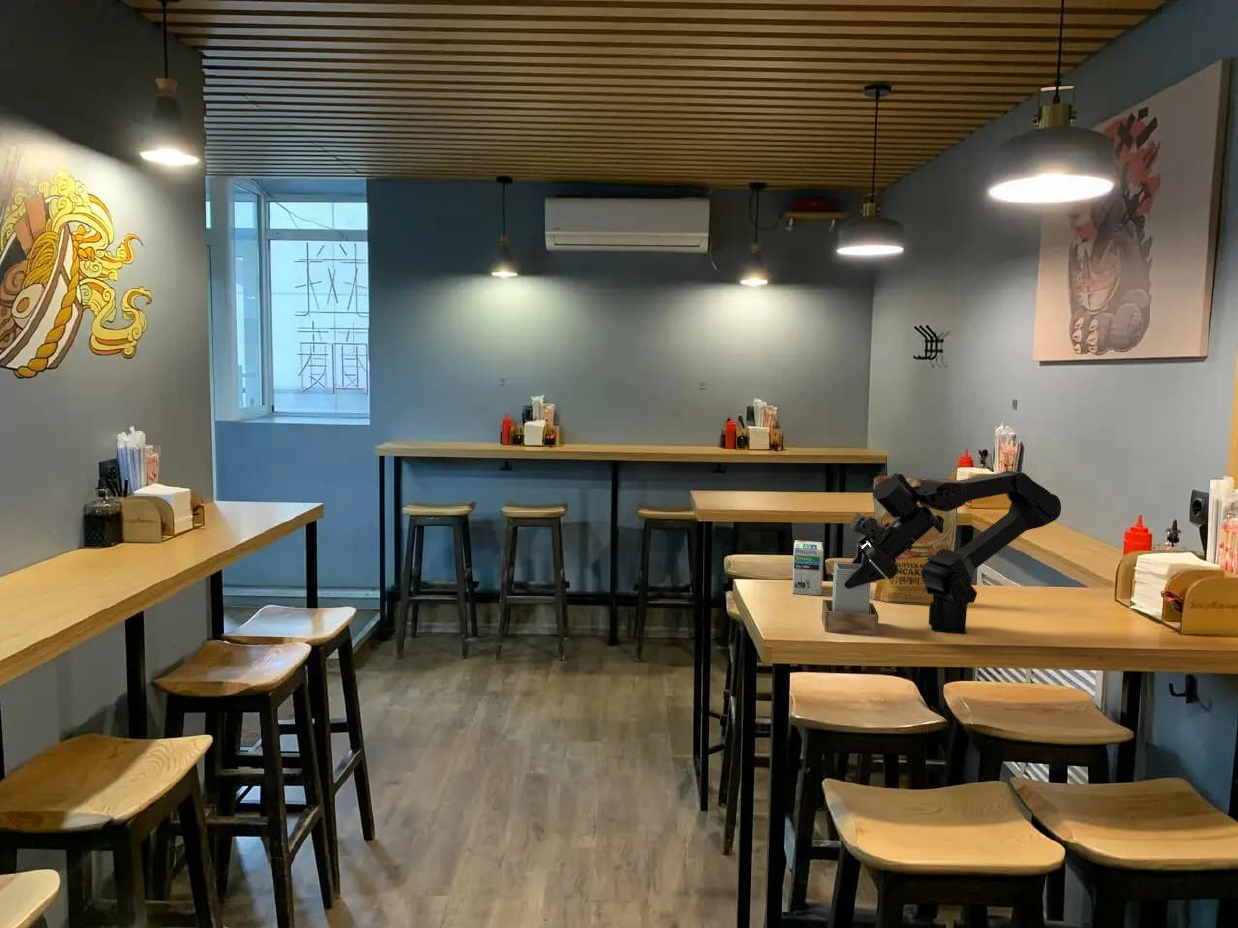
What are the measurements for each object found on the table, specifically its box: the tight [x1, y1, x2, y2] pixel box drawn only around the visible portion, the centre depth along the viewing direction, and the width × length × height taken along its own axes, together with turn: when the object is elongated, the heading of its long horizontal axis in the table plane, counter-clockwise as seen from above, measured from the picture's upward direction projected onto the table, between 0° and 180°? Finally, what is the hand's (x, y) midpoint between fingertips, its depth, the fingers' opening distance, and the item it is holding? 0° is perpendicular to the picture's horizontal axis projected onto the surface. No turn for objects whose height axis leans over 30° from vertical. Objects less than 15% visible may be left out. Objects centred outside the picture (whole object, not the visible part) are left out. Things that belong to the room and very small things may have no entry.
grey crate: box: [831, 562, 872, 614], centre depth 178 cm, size 6×6×10 cm
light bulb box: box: [791, 539, 824, 596], centre depth 209 cm, size 11×7×11 cm, turn 168°
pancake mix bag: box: [872, 475, 958, 606], centre depth 200 cm, size 7×19×28 cm, turn 84°
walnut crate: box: [821, 599, 879, 637], centre depth 178 cm, size 10×10×4 cm
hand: (844, 582), depth 178 cm, fingers closed on grey crate, 6 cm apart
